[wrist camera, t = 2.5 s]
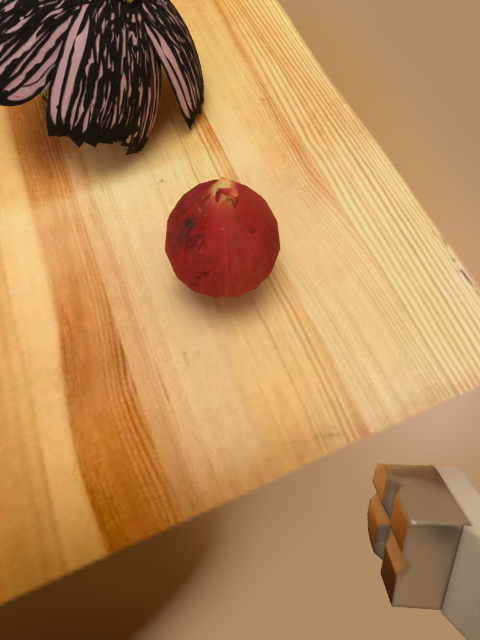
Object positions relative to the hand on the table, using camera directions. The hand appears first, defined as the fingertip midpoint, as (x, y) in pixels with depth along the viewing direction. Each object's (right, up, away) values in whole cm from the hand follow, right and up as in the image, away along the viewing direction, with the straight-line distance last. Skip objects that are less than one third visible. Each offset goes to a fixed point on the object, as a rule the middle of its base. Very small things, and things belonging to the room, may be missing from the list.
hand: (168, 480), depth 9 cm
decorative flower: (-8, +19, +24) cm, 31 cm away
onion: (0, +6, +18) cm, 19 cm away
